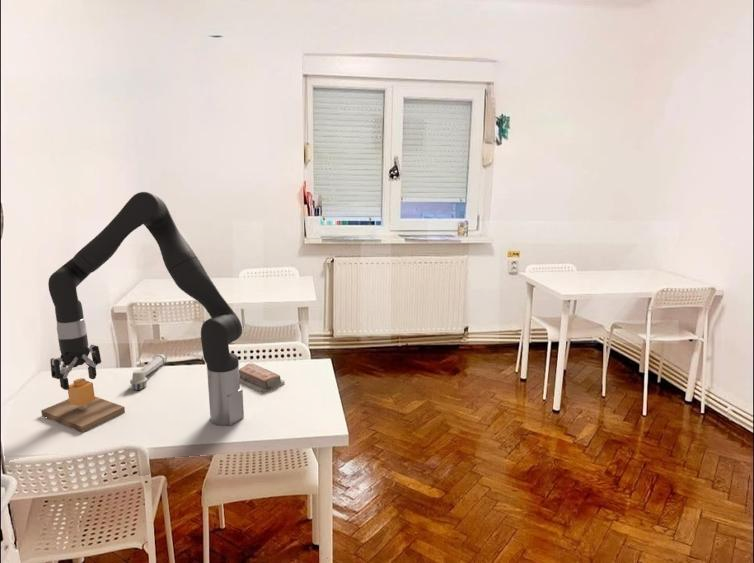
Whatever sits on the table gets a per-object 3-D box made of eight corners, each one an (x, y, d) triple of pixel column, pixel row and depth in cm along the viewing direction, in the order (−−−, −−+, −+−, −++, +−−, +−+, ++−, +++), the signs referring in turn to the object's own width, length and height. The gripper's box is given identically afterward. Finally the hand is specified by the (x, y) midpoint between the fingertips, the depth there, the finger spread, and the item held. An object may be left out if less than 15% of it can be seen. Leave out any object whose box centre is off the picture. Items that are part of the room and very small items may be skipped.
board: (124, 412, 166) (124, 406, 165) (82, 432, 154) (82, 426, 153) (84, 398, 175) (84, 392, 174) (42, 416, 163) (41, 410, 162)
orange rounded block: (84, 396, 166) (81, 375, 165) (95, 399, 164) (92, 379, 162) (69, 402, 162) (66, 382, 160) (80, 406, 160) (76, 385, 158)
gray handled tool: (168, 353, 204) (142, 371, 179) (169, 369, 205) (143, 390, 180) (154, 353, 204) (126, 371, 179) (155, 369, 205) (127, 390, 180)
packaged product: (285, 372, 186) (262, 381, 179) (285, 385, 188) (263, 394, 180) (254, 359, 198) (231, 367, 190) (254, 371, 199) (232, 379, 192)
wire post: (88, 407, 164) (85, 385, 162) (81, 410, 162) (78, 388, 161) (84, 406, 165) (81, 384, 163) (77, 409, 163) (74, 387, 162)
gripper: (86, 325, 165) (93, 373, 169) (40, 339, 153) (48, 390, 157) (102, 328, 162) (108, 377, 166) (56, 343, 150) (64, 395, 154)
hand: (79, 383), depth 161 cm, fingers open, 8 cm apart
